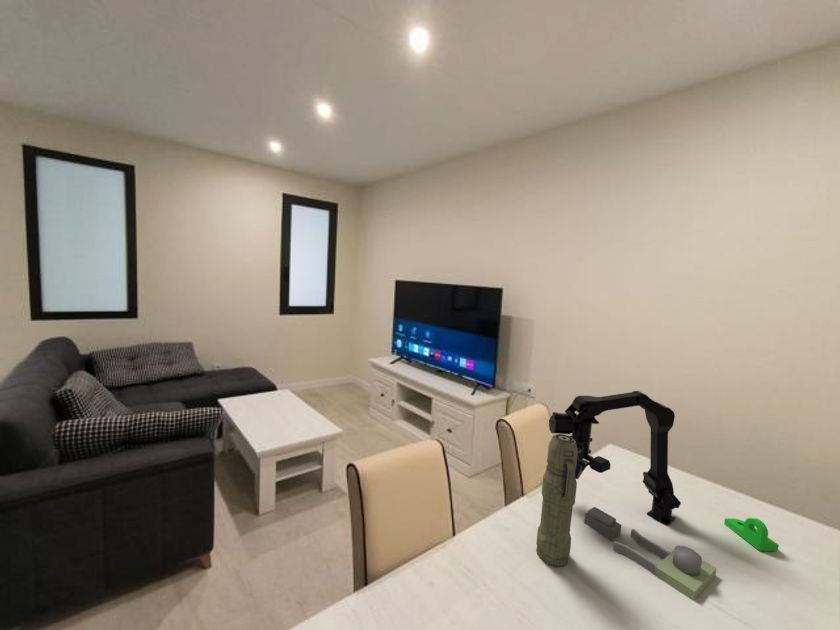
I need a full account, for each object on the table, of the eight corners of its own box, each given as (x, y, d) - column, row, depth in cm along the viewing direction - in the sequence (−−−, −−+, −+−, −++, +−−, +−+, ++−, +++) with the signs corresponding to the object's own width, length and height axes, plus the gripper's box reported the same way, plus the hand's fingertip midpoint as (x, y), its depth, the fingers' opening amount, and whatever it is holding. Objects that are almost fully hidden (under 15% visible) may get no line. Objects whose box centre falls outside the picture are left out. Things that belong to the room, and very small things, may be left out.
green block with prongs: (638, 531, 114) (640, 512, 113) (715, 576, 97) (718, 554, 97) (611, 549, 105) (614, 529, 104) (692, 602, 88) (695, 578, 88)
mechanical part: (777, 550, 109) (781, 526, 108) (759, 550, 109) (763, 526, 108) (740, 524, 121) (744, 502, 120) (724, 523, 121) (727, 501, 120)
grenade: (549, 574, 94) (562, 448, 91) (527, 542, 106) (538, 429, 103) (579, 571, 96) (592, 447, 93) (554, 539, 107) (565, 428, 104)
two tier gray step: (592, 520, 118) (594, 505, 118) (620, 536, 111) (621, 521, 110) (584, 525, 115) (585, 510, 115) (611, 542, 108) (613, 526, 108)
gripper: (542, 428, 122) (538, 471, 124) (594, 451, 107) (589, 500, 108) (562, 422, 129) (558, 463, 130) (613, 443, 113) (608, 490, 115)
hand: (576, 478), depth 121 cm, fingers closed
